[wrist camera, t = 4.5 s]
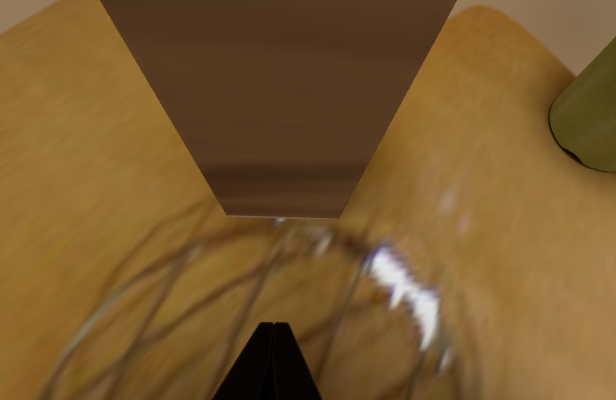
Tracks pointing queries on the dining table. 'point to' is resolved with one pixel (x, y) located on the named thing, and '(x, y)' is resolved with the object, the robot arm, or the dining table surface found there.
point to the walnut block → (280, 89)
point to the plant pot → (590, 113)
